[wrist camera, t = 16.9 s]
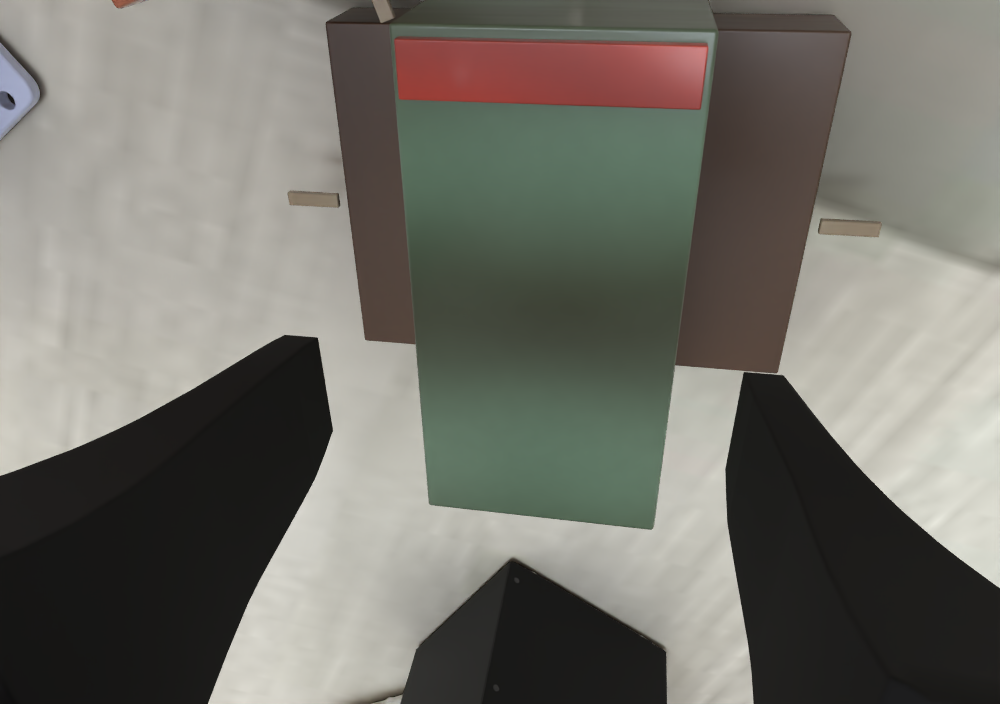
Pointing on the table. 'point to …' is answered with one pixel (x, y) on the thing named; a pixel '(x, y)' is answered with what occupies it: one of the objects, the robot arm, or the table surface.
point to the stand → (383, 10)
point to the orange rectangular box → (126, 3)
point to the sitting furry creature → (391, 700)
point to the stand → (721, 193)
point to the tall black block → (534, 651)
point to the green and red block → (550, 242)
